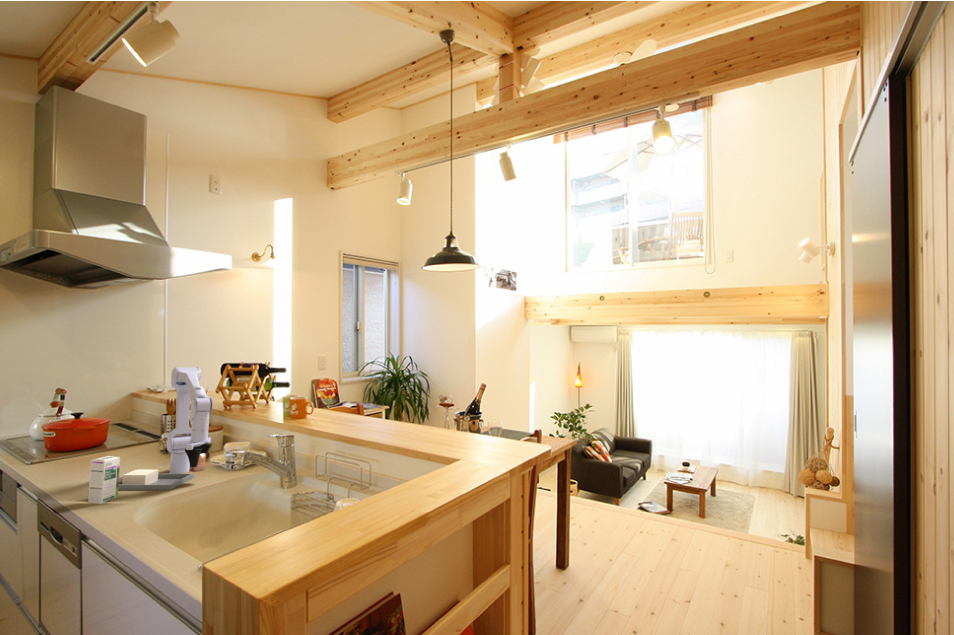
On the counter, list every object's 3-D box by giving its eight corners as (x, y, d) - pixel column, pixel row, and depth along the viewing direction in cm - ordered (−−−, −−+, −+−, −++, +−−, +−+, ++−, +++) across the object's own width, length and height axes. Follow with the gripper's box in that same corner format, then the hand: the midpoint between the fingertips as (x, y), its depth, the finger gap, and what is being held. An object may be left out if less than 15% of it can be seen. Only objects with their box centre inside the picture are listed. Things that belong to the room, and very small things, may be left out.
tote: (137, 479, 184) (138, 473, 184) (193, 480, 185) (193, 473, 186) (109, 492, 168) (109, 485, 168) (170, 492, 170) (170, 485, 170)
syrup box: (101, 504, 155) (105, 460, 156) (87, 503, 156) (90, 458, 157) (117, 499, 160) (121, 456, 161) (103, 497, 162) (107, 455, 163)
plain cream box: (135, 480, 180) (136, 469, 180) (157, 480, 181) (158, 469, 181) (121, 486, 172) (122, 475, 172) (144, 486, 173) (145, 475, 173)
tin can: (193, 468, 182) (194, 452, 182) (207, 468, 182) (208, 452, 182) (186, 471, 176) (187, 455, 177) (200, 471, 177) (201, 455, 177)
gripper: (201, 432, 173) (198, 469, 173) (219, 426, 188) (217, 460, 187) (181, 432, 173) (178, 469, 172) (201, 425, 187) (198, 460, 186)
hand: (197, 464), depth 179 cm, fingers closed on tin can, 5 cm apart
